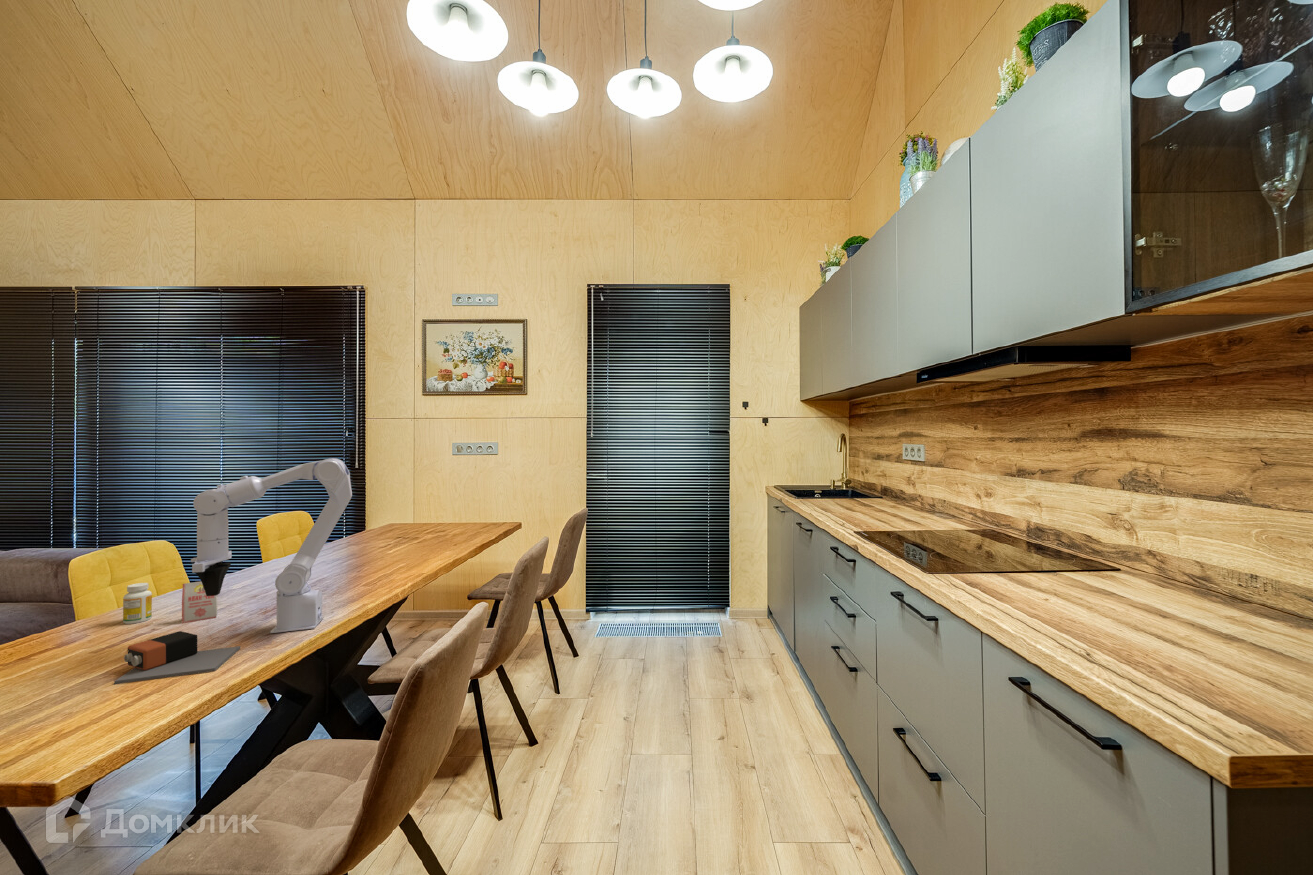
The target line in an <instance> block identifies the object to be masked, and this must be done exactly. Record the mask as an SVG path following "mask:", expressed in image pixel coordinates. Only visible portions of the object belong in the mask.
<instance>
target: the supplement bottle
mask: <svg viewBox="0 0 1313 875" xmlns="http://www.w3.org/2000/svg"><path fill="white" fill-rule="evenodd" d="M149 584H150V583H149V582H138V583H133V584H129V585H127V587H126V591H127V593H126V594H124V596H123V598H122V602H123V603H122V609H123V610H122V611H123V612H122V617H123V618H122V623H123V624H125V625H134V624H141V623H143V622H146V621H149V620H151V618H152V617H153V616H152V615H153V614H152V610H153V608H152V607H153V592H152V591H151V590H148V589H149V588H150V586H149Z"/></svg>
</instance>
